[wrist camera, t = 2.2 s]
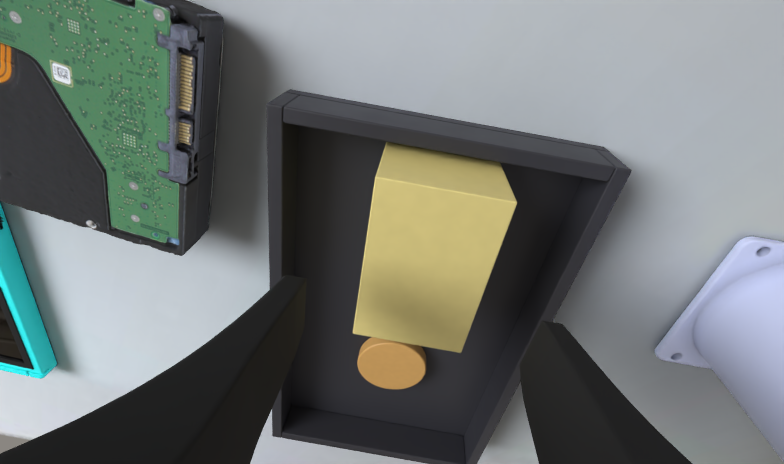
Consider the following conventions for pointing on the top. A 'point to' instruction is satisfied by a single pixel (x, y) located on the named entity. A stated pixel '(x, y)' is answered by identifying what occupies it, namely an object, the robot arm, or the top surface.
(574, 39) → the top surface
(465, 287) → the sponge
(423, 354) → the tan round puck
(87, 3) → the disk drive
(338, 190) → the tray
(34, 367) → the handheld game console
